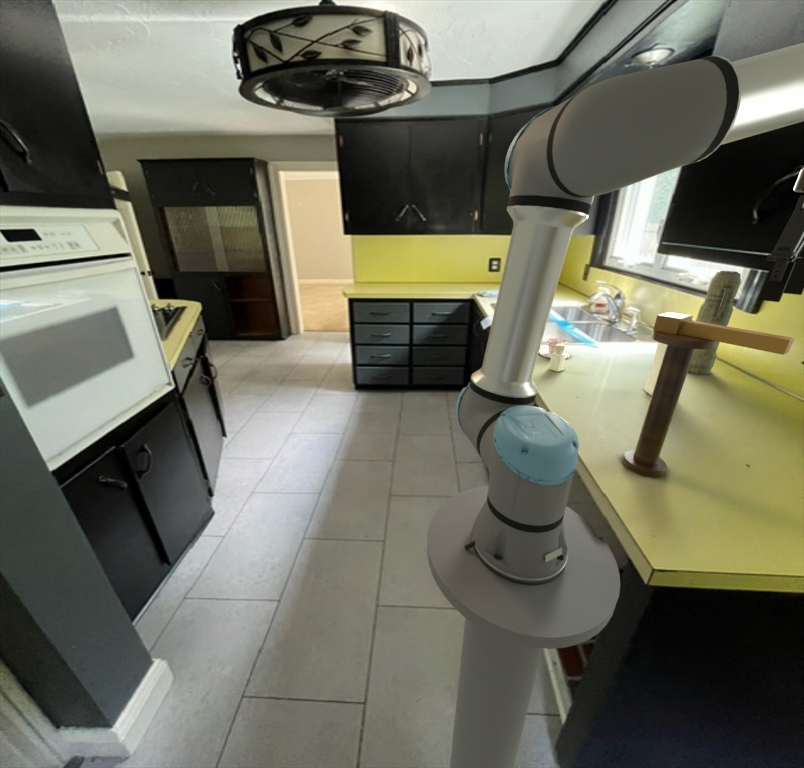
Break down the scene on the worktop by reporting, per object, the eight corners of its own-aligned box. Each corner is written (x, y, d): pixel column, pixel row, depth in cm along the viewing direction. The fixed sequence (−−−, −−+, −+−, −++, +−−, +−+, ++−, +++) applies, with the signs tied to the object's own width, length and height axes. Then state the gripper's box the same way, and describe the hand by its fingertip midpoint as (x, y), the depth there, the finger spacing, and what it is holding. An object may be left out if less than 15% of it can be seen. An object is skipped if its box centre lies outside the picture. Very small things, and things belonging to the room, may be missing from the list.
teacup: (576, 358, 146) (579, 343, 143) (550, 360, 143) (553, 345, 141) (557, 349, 156) (559, 335, 154) (533, 351, 154) (535, 337, 151)
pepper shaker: (553, 366, 137) (558, 342, 133) (563, 369, 134) (568, 345, 130) (548, 369, 134) (552, 344, 131) (557, 372, 132) (562, 347, 128)
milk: (663, 391, 117) (685, 323, 108) (675, 399, 111) (699, 328, 102) (643, 390, 117) (663, 323, 108) (654, 398, 111) (676, 328, 103)
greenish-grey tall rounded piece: (702, 366, 137) (736, 270, 123) (716, 377, 127) (754, 274, 113) (675, 363, 140) (705, 269, 126) (686, 374, 130) (720, 273, 116)
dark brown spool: (634, 480, 75) (677, 341, 63) (608, 452, 85) (642, 326, 73) (681, 480, 75) (734, 341, 63) (651, 452, 85) (692, 326, 73)
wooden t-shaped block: (780, 356, 56) (789, 337, 55) (652, 330, 70) (657, 314, 69) (791, 351, 58) (799, 332, 57) (665, 326, 73) (669, 311, 72)
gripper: (855, 150, 49) (788, 307, 57) (884, 167, 62) (826, 293, 70) (780, 159, 55) (729, 300, 63) (821, 172, 67) (774, 288, 76)
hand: (780, 297), depth 67 cm, fingers open, 13 cm apart
